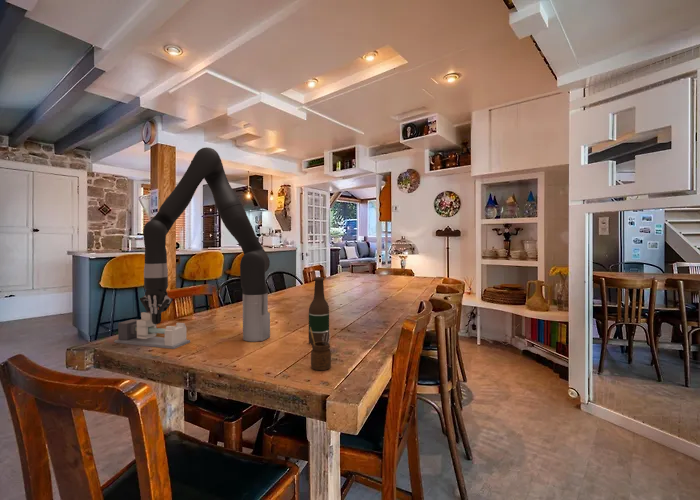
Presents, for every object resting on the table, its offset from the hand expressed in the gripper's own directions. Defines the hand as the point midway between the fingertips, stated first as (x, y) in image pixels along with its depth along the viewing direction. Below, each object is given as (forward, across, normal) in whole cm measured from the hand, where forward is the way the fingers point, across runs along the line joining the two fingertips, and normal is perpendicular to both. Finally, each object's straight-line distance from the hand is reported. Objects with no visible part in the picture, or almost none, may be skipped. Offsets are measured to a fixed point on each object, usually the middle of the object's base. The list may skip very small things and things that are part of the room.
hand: (156, 323), depth 125 cm
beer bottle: (+7, -56, -17) cm, 59 cm away
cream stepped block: (+5, +5, 0) cm, 7 cm away
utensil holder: (+7, -65, +6) cm, 66 cm away
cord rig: (+7, +2, 0) cm, 7 cm away
